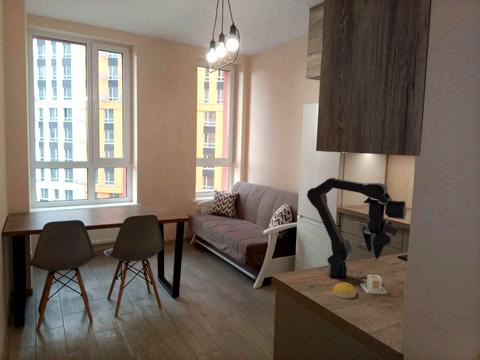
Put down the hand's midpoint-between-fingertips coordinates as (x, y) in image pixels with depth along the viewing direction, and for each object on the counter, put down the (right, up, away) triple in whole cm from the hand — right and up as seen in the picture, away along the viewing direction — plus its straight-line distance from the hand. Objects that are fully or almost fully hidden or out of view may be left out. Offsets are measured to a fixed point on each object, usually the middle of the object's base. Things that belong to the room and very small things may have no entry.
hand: (372, 254), depth 139 cm
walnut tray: (0, -12, +3) cm, 12 cm away
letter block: (-1, -12, -4) cm, 13 cm away
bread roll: (-14, -13, -8) cm, 21 cm away
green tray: (-1, -13, -4) cm, 14 cm away
